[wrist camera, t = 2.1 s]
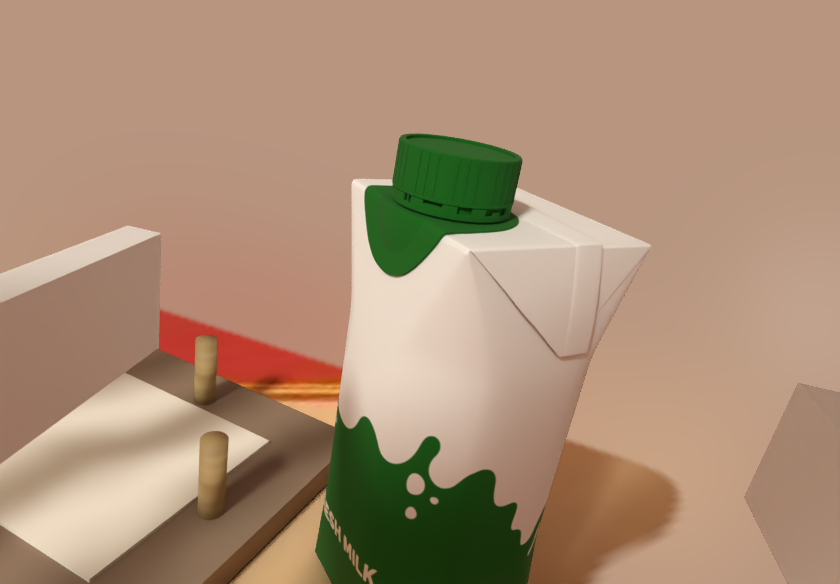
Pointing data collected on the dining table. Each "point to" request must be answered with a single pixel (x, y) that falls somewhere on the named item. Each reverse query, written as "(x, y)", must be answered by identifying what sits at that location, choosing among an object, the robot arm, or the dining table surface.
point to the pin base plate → (159, 480)
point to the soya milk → (460, 365)
